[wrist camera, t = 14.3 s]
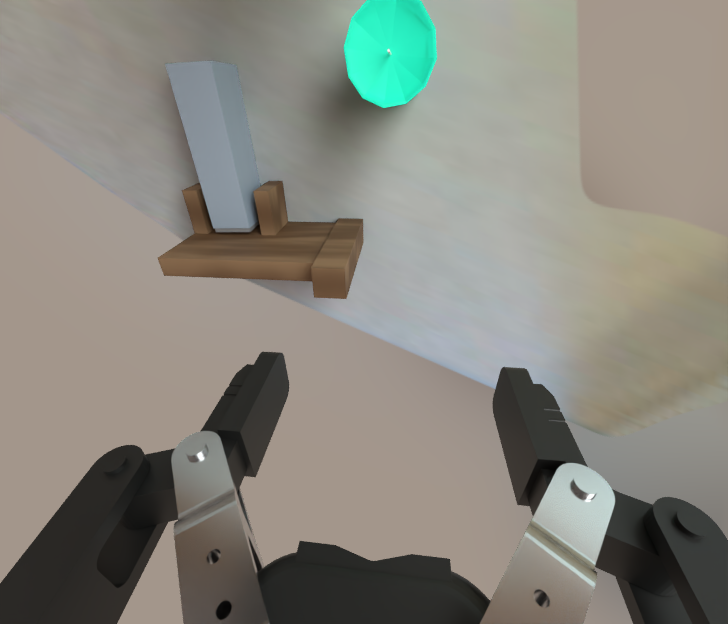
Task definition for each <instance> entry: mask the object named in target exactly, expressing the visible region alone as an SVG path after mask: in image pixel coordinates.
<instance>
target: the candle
mask: <svg viewBox="0 0 728 624" xmlns="http://www.w3.org/2000/svg"><path fill="white" fill-rule="evenodd" d="M344 53H345V59H346V65H347V71H348V77H349V79H350V80H351V82H352V83H353V85H354V86H355V88H356V89H357V91H358V92H359V94H360V95H361V97H362V98H363V99H365V100H367V101H369V102H372V103H374V104H376V105H378V106H380V107H382V108H386V107H392V106H397V105H403V104H407V103H408V102H409V101H410V100H411V99H412V98H413V97H414V96H416V95H417V94H418V93H419V92H420V91H421V90H422V89H423V88H424V87H426V85H427V82H428V80H429V77H430V75H431V72H432V70H433V67H434V65H435V62H436V60H437V51H436V30H435V26H434V25H433V23H432V21H431V19H430V17H429V15H428V13H427V11H426V9H425V7H424V5H423V3H422V1H420V0H367V1H366V2H365V3H364V4H363V5H362V6H361V8H360V9H359V10H358V11H357V12H356V13H355V14H354V16H353V17H352V18H351V22H350V26H349V30H348V33H347V37H346V41H345V45H344Z"/></svg>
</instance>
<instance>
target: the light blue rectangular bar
mask: <svg viewBox="0 0 728 624" xmlns="http://www.w3.org/2000/svg"><path fill="white" fill-rule="evenodd" d="M165 65H166V69H167V72H168V76H169V79H170V82H171V86H172V89H173V93H174V96H175V100H176V103H177V106H178V110H179V113H180V117H181V120H182V123H183V127H184V130H185V134H186V137H187V140H188V144H189V147H190V151H191V154H192V157H193V161H194V164H195V168H196V171H197V174H198V178H199V181H200V185H201V188H202V192H203V195H204V198H205V202H206V205H207V209H208V212H209V215H210V219H211V222H212V226H213V228H215V231H216V232H251V231H252V230H253V229H254V228H255V227H256V226H257V225H259V218H258V213H257V208H256V203H255V197H254V192H253V191H254V190H256V189H257V188H259V187H261V185H260V180H259V175H258V170H257V165H256V160H255V155H254V150H253V145H252V140H251V135H250V130H249V125H248V120H247V115H246V111H245V106H244V101H243V96H242V91H241V86H240V81H239V76H238V71H237V66H236V65H235V64H228V63H222V62H216V61H196V62H181V63H166V64H165Z"/></svg>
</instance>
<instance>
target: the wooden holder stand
mask: <svg viewBox="0 0 728 624" xmlns="http://www.w3.org/2000/svg"><path fill="white" fill-rule="evenodd" d="M182 192H183V195H184V199H185V202H186V205H187V209H188V212H189V215H190V219H191V222H192V225H193V229H194V232H195V234H193V235H192V236H190V237H189V238H187V239H186V240H184V241H183V242H181V243H180V244H178V245H177V246H175V247H174V248H172V249H171V250H169V251H168V252H166V253H165V254H163V255H161V256H160V257H158V260H159V263H160V265H161V268H162V271H163V273H164V276H189V277H215V278H242V279H268V280H294V281H312V282H313V291H314V297H316V298H339V299H346V298H347V295H348V291H349V288H350V285H351V281H352V278H353V275H354V272H355V268H356V265H357V262H358V258H359V255H360V252H361V249H362V245H363V219H340V218H339V219H338V220H337V222H336V223H325V222H288V218H287V211H286V204H285V196H284V189H283V182H282V181H269V182H267V183H265V184H264V185H262V186H261V187H259V188H257V189H256V190H254V191H253V192H254V197H255V203H256V208H257V213H258V218H259V225H257V226H256V227H255V228H254V229H253V230H252V231H251V232H216V231H215V228H213V226H212V222H211V219H210V215H209V212H208V209H207V205H206V202H205V198H204V195H203V192H202V188H201V185H200V183H198V184H196V185H193V186H191V187H189V188H186V189H184V190H182Z"/></svg>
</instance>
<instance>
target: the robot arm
mask: <svg viewBox="0 0 728 624" xmlns="http://www.w3.org/2000/svg"><path fill="white" fill-rule="evenodd" d="M288 392H289V380H288V375H287V370H286V364H285V360H284V356H283V354H282V353H276V352H262V353H261V354H260V355H259V357H258V358H257V360H256V362H255V364H254V365H248V364H247V365H246V366H245V367H243V368H242V369H241V370H240V371H239V372H237V373H236V375H235V376H234V378H233V379H232V381H231V383H230V384H229V387H228V388H227V389H226V391H225V392H224V396H222V397H221V399H220V401H219V402H218V404H217V406H216V407H215V409H214V410H213V412H212V414H211V415H210V417H209V419H208V420H207V422H206V423H205V425H204V427H203V428H202V430H201V431H200V432H197V433H194V434H192V435H190V436H188V437H186V438H185V439H184V440H183V441H182V442H180V443H179V444H178V446H177V447H176V448H175V449H171V450H166V451H161V452H157V453H151V454H146V455H145V454H144V452H143V451H142V449H141V448H139V447H138V446H135V445H125V446H121V447H118V448H115V449H113V450H111V451H109V452H108V453H106V454H104V455H103V456H102V457H101V458H99V459H98V460H97V461H96V462H95V463H94V465H93V466H92V467H91V468H90V470H89V471H88V472H87V473H86V475H85V476H84V477H83V479H82V480H81V481H80V483H79V484H78V485H77V486H76V488H75V489H74V490H73V491H72V493H71V494H70V496H68V498H67V499H66V500H65V502H64V503H63V504H62V505H61V507H60V508H59V510H58V511H57V512H56V513H55V514H54V516H53V517H52V518H51V519H50V521H49V522H48V523H47V525H46V526H45V527H44V528H43V530H42V531H41V532H40V534H39V535H38V536H37V537H36V539H35V540H34V541H33V542H32V544H31V545H30V546H29V548H28V549H27V550H26V551H25V553H24V554H23V555H22V556H21V558H20V559H19V560H18V562H17V563H16V564H15V565H14V567H13V568H12V569H11V571H10V572H9V573H8V574H7V576H6V577H5V578H4V579H3V581H2V582H1V583H0V624H117V622H118V620H119V618H120V616H121V614H122V613H123V610H124V609H125V606H126V604H127V602H128V601H129V599H130V596H131V595H132V593H133V590H134V589H135V587H136V585H137V583H138V581H139V579H140V577H141V575H142V573H143V571H144V569H145V567H146V565H147V563H148V561H149V559H150V557H151V555H152V553H153V551H154V549H155V547H156V545H157V543H158V541H159V539H160V537H161V535H162V533H163V531H164V529H165V527H166V525H167V523H168V522H169V521H174V520H178V521H177V522H176V523H175V524H174V540H175V549H176V558H177V567H178V577H179V586H180V595H181V604H182V613H183V622H184V624H583V623H584V620H585V617H586V613H587V610H588V607H589V604H590V601H591V597H592V594H593V591H594V588H595V584H596V579H597V572H596V571H594V570H595V567H597V568H599V569H601V570H603V571H605V572H607V573H610V574H612V575H614V576H616V579H617V582H618V584H619V587H620V590H621V592H622V595H623V597H624V600H625V603H626V605H627V608H628V611H629V613H630V616H631V619H632V621H633V624H728V540H727V538H726V537H725V535H724V534H723V532H722V531H721V530H720V528H719V527H718V525H717V524H716V523H715V522H714V521H713V520H712V519H711V518H710V517H709V516H708V515H706V514H705V513H704V512H702V511H701V510H700V509H698V508H696V507H695V506H693V505H692V504H690V503H688V502H685V501H683V500H680V499H677V498H672V497H664V498H660V499H658V500H657V501H656V502H655V503H654V504H653V505H652V504H649V503H646V502H643V501H641V500H638V499H635V498H633V497H630V496H627V495H624V494H622V493H619V492H617V491H615V490H613V489H611V487H610V485H609V484H608V483H607V482H606V480H605V479H604V478H603V477H602V476H600V475H599V474H598V473H597V472H595V471H594V470H592V469H590V468H588V466H587V465H586V463H585V461H584V458H583V456H582V454H581V452H580V450H579V448H578V446H577V444H576V442H575V440H574V438H573V435H572V433H571V431H570V429H569V427H568V425H567V423H565V419H564V417H563V415H562V412H560V408H559V406H558V404H557V402H556V400H555V398H554V396H553V395H552V394H551V393H550V392H549V391H548V390H547V389H546V388H545V387H544V386H543V385H542V384H533V382H532V380H531V377H530V375H529V373H528V371H527V369H525V368H510V367H503V368H502V369H501V371H500V375H499V379H498V382H497V386H496V389H495V393H494V397H493V413H494V418H495V421H496V425H497V429H498V433H499V437H500V440H501V444H502V448H503V452H504V456H505V459H506V463H507V467H508V471H509V474H510V478H511V482H512V485H513V490H514V493H515V497H516V501H517V504H518V505H525V506H530V508H531V511H532V515H533V518H532V520H531V522H530V524H529V526H528V527H527V529H526V531H525V533H524V536H523V538H522V539H521V542H520V544H519V546H518V547H517V549H516V551H515V553H514V556H513V557H512V559H511V561H510V564H509V565H508V567H507V569H506V571H505V573H504V575H503V577H502V579H501V581H500V583H499V585H498V587H497V589H496V591H495V593H494V595H493V597H492V599H491V601H490V600H489V599H488V598H487V597H486V596H485V595H484V594H483V593H482V592H481V591H480V590H479V589H478V588H477V587H476V586H475V585H473V584H472V583H471V582H469V581H468V580H467V579H465V578H463V577H462V576H460V575H458V574H456V573H454V572H452V571H451V566H450V559H447V558H437V557H429V556H422V555H413V554H411V555H406V556H400V557H395V558H390V559H384V560H378V561H370V560H367V559H365V558H363V557H361V556H358V555H356V554H354V553H352V552H349V551H347V550H345V549H343V548H340V547H338V546H336V545H329V544H321V543H312V542H304V541H300V542H299V547H298V550H297V552H296V553H291V554H288V555H286V556H283V557H281V558H279V559H277V560H274V561H273V562H271V563H270V564H268V565H267V566H265V567H264V565H263V562H262V558H261V556H260V552H259V550H258V547H257V544H256V541H255V537H254V534H253V531H252V527H251V524H250V520H249V517H248V514H247V510H246V507H245V503H244V500H243V497H242V493H241V489H240V485H241V483H242V480H243V478H244V476H250V477H256V475H257V472H258V470H259V467H260V465H261V462H262V460H263V457H264V455H265V452H266V449H267V447H268V444H269V442H270V440H271V437H272V435H273V432H274V430H275V427H276V424H277V422H278V419H279V417H280V415H281V412H282V409H283V407H284V404H285V402H286V399H287V396H288Z"/></svg>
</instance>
